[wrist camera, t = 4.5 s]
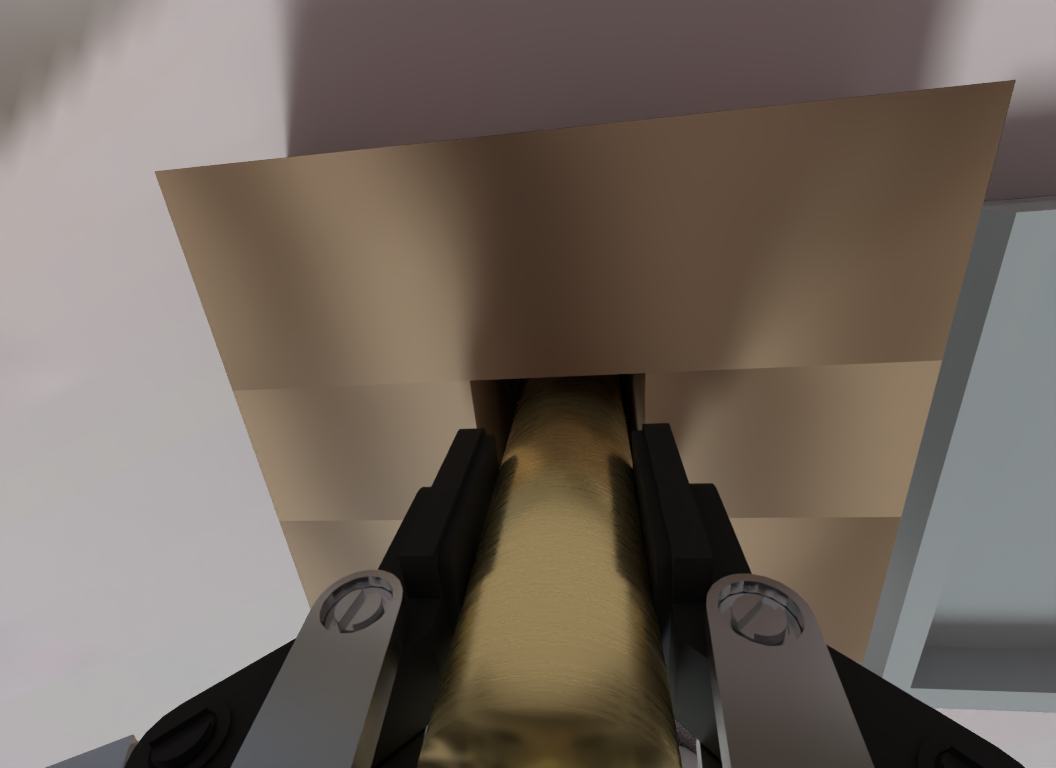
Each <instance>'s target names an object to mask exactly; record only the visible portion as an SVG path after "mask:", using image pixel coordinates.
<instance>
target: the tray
mask: <svg viewBox="0 0 1056 768" xmlns="http://www.w3.org/2000/svg"><path fill="white" fill-rule="evenodd" d="M857 663H858V664H860V665H862V666H863V667H865V668H867V669H868V670H870V671H872V672H873V673H875V674H877V675H878V676H880V677H882V678H883V679H885V680H887V681H888V682H890V683H892V684H893V685H895V686H897V687H898V688H900V689H902V690H903V691H905V692H907V693H908V694H910V695H912V696H913V697H915V698H917V699H918V700H920V701H922V702H923V703H925V704H927V705H928V706H930V707H932V708H947V709H973V710H1000V711H1026V712H1052V713H1056V196H1047V197H1035V198H1022V199H1010V200H997V201H984V203H983V207H982V210H981V214H980V218H979V222H978V226H977V229H976V233H975V237H974V241H973V245H972V249H971V252H970V256H969V260H968V264H967V268H966V271H965V275H964V279H963V283H962V287H961V291H960V294H959V298H958V302H957V306H956V310H955V314H954V317H953V321H952V325H951V329H950V333H949V336H948V340H947V344H946V348H945V352H944V356H943V359H942V363H941V367H940V371H939V375H938V378H937V382H936V386H935V390H934V394H933V398H932V401H931V405H930V409H929V413H928V417H927V421H926V424H925V428H924V432H923V436H922V440H921V443H920V447H919V451H918V455H917V459H916V463H915V466H914V470H913V474H912V478H911V482H910V485H909V489H908V493H907V497H906V501H905V505H904V508H903V512H902V516H901V520H900V524H899V527H898V531H897V535H896V539H895V543H894V547H893V550H892V554H891V558H890V562H889V566H888V570H887V573H886V577H885V581H884V585H883V589H882V592H881V596H880V600H879V604H878V608H877V612H876V615H875V619H874V623H873V627H872V631H871V634H870V638H869V642H868V646H867V650H866V654H865V657H864V661H863V662H857Z"/></svg>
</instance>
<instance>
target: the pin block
mask: <svg viewBox="0 0 1056 768" xmlns="http://www.w3.org/2000/svg"><path fill="white" fill-rule="evenodd" d="M1014 84H1015V80H1010V81H1001V82H991V83H982V84H972V85H963V86H954V87H944V88H935V89H925V90H916V91H907V92H897V93H888V94H878V95H869V96H860V97H850V98H841V99H831V100H822V101H813V102H803V103H794V104H784V105H775V106H766V107H756V108H747V109H737V110H728V111H719V112H709V113H700V114H690V115H681V116H672V117H662V118H653V119H643V120H634V121H625V122H615V123H606V124H596V125H587V126H578V127H568V128H559V129H549V130H540V131H530V132H521V133H512V134H502V135H493V136H483V137H474V138H465V139H455V140H446V141H436V142H427V143H418V144H408V145H399V146H389V147H380V148H371V149H361V150H352V151H342V152H333V153H324V154H314V155H305V156H295V157H286V158H277V159H267V160H258V161H248V162H239V163H230V164H220V165H211V166H201V167H192V168H183V169H173V170H164V171H155V174H156V177H157V180H158V182H159V185H160V188H161V191H162V194H163V196H164V199H165V202H166V205H167V208H168V210H169V213H170V216H171V219H172V222H173V224H174V227H175V230H176V233H177V236H178V238H179V241H180V244H181V247H182V250H183V252H184V255H185V258H186V261H187V264H188V267H189V269H190V272H191V275H192V278H193V281H194V283H195V286H196V289H197V292H198V295H199V297H200V300H201V303H202V306H203V309H204V311H205V314H206V317H207V320H208V323H209V325H210V328H211V331H212V334H213V337H214V339H215V342H216V345H217V348H218V351H219V353H220V356H221V359H222V362H223V365H224V367H225V370H226V373H227V376H228V379H229V381H230V384H231V387H232V390H233V393H234V395H235V398H236V401H237V404H238V407H239V409H240V412H241V415H242V418H243V421H244V423H245V426H246V429H247V432H248V435H249V437H250V440H251V443H252V446H253V449H254V451H255V454H256V457H257V460H258V463H259V465H260V468H261V471H262V474H263V477H264V480H265V482H266V485H267V488H268V491H269V494H270V496H271V499H272V502H273V505H274V508H275V510H276V513H277V516H278V519H279V522H280V524H281V527H282V530H283V533H284V536H285V538H286V541H287V544H288V547H289V550H290V552H291V555H292V558H293V561H294V564H295V566H296V569H297V572H298V575H299V578H300V580H301V583H302V586H303V589H304V592H305V594H306V597H307V600H308V603H309V606H310V608H312V606H313V605H314V603H315V602H316V600H317V599H318V597H319V596H320V594H322V593H323V592H324V591H325V590H326V589H327V588H328V587H329V586H330V585H332V584H333V583H335V582H336V581H338V580H340V579H341V578H343V577H345V576H348V575H350V574H353V573H355V572H359V571H365V570H370V569H371V570H378V568H379V566H380V564H381V562H382V560H383V558H384V556H385V554H386V552H387V550H388V548H389V546H390V544H391V542H392V541H393V539H394V537H395V535H396V533H397V531H398V529H399V527H400V525H401V523H402V521H403V519H404V517H405V515H406V513H407V511H408V509H409V507H410V506H411V504H412V502H413V500H414V498H415V496H416V494H417V492H418V491H419V489H420V488H422V487H431V486H432V484H433V482H434V480H435V478H436V476H437V473H438V471H439V469H440V467H441V465H442V463H443V461H444V459H445V457H446V455H447V453H448V451H449V448H450V446H451V444H452V442H453V440H454V438H455V436H456V434H457V432H458V430H459V429H473V428H484V429H485V430H486V434H493V435H494V437H495V441H496V449H497V457H498V464H499V470H500V467H501V463H502V460H503V456H504V452H505V449H506V445H507V442H508V438H509V434H510V431H511V427H512V424H513V418H512V409H511V400H510V391H509V382H508V379H519V378H542V377H566V376H589V375H612V374H627V405H628V425H626V427H627V433H628V439H629V445H630V451H631V457H632V433H633V431H638V430H642V424H652V423H669V424H670V427H671V430H672V433H673V436H674V439H675V442H676V445H677V448H678V451H679V454H680V457H681V460H682V463H683V466H684V469H685V472H686V475H687V478H688V481H689V483H713V484H714V485H715V486H716V488H717V490H718V493H719V495H720V498H721V500H722V502H723V505H724V507H725V510H726V512H727V514H728V517H729V519H730V522H731V524H732V527H733V529H734V531H735V534H736V536H737V539H738V541H739V544H740V546H741V548H742V551H743V553H744V556H745V558H746V560H747V563H748V565H749V568H750V570H751V573H752V574H755V575H760V576H765V577H768V578H771V579H773V580H776V581H778V582H781V583H783V584H784V585H786V586H787V587H789V588H790V589H792V590H794V591H795V592H796V593H797V594H798V595H799V596H800V597H802V598H803V599H804V600H805V601H806V602H807V603H808V605H809V607H810V609H811V610H812V612H813V614H814V615H815V617H816V620H817V622H818V625H819V628H820V630H821V633H822V635H823V638H824V640H825V643H826V644H827V645H828V646H830V647H832V648H833V649H835V650H837V651H838V652H840V653H842V654H843V655H845V656H847V657H848V658H850V659H852V660H853V661H855V662H863V661H864V657H865V654H866V650H867V646H868V642H869V638H870V634H871V631H872V627H873V623H874V619H875V615H876V612H877V608H878V604H879V600H880V596H881V592H882V589H883V585H884V581H885V577H886V573H887V570H888V566H889V562H890V558H891V554H892V550H893V547H894V543H895V539H896V535H897V531H898V527H899V524H900V520H901V516H902V512H903V508H904V505H905V501H906V497H907V493H908V489H909V485H910V482H911V478H912V474H913V470H914V466H915V463H916V459H917V455H918V451H919V447H920V443H921V440H922V436H923V432H924V428H925V424H926V421H927V417H928V413H929V409H930V405H931V401H932V398H933V394H934V390H935V386H936V382H937V378H938V375H939V371H940V367H941V363H942V359H943V356H944V352H945V348H946V344H947V340H948V336H949V333H950V329H951V325H952V321H953V317H954V314H955V310H956V306H957V302H958V298H959V294H960V291H961V287H962V283H963V279H964V275H965V271H966V268H967V264H968V260H969V256H970V252H971V249H972V245H973V241H974V237H975V233H976V229H977V226H978V222H979V218H980V214H981V210H982V207H983V203H984V199H985V195H986V191H987V187H988V184H989V180H990V176H991V172H992V168H993V164H994V161H995V157H996V153H997V149H998V145H999V142H1000V138H1001V134H1002V130H1003V126H1004V122H1005V119H1006V115H1007V111H1008V107H1009V103H1010V100H1011V96H1012V92H1013V88H1014Z"/></svg>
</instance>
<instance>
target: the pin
mask: <svg viewBox="0 0 1056 768" xmlns="http://www.w3.org/2000/svg"><path fill="white" fill-rule="evenodd" d="M417 768H682V762H681V756H680V750H679V744H678V738H677V732H676V726H675V720H674V713H673V707H672V701H671V695H670V689H669V683H668V677H667V671H666V665H665V659H664V652H663V646H662V640H661V634H660V628H659V624H658V620H657V617H656V613H655V607H654V600H653V594H652V588H651V582H650V575H649V569H648V563H647V557H646V550H645V544H644V538H643V532H642V525H641V519H640V513H639V507H638V500H637V494H636V488H635V482H634V475H633V463H632V457H631V451H630V445H629V439H628V433H627V427H626V421H625V415H624V408H623V402H622V396H621V390H620V384H619V378H618V374H612V375H589V376H566V377H542V378H525V381H524V384H523V388H522V392H521V395H520V399H519V402H518V406H517V409H516V413H515V417H514V420H513V424H512V427H511V431H510V434H509V438H508V442H507V445H506V449H505V452H504V456H503V460H502V463H501V467H500V470H499V474H498V477H497V481H496V485H495V488H494V492H493V495H492V499H491V502H490V506H489V510H488V513H487V517H486V520H485V524H484V528H483V531H482V535H481V538H480V542H479V545H478V549H477V553H476V556H475V560H474V563H473V567H472V570H471V574H470V578H469V581H468V585H467V588H466V592H465V595H464V599H463V603H462V606H461V610H460V613H459V617H458V621H457V624H456V628H455V631H454V635H453V638H452V642H451V646H450V649H449V653H448V656H447V660H446V663H445V667H444V671H443V674H442V678H441V681H440V685H439V688H438V692H437V696H436V699H435V703H434V706H433V710H432V714H431V717H430V721H429V724H428V728H427V731H426V735H425V739H424V742H423V746H422V749H421V753H420V757H419V760H418V764H417Z"/></svg>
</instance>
